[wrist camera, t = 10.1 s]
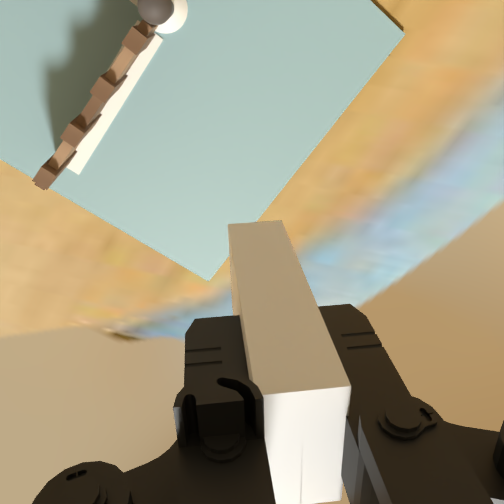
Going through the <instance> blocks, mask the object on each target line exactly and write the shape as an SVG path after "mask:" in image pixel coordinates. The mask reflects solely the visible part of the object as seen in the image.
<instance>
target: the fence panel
mask: <svg viewBox="0 0 504 504" xmlns="http://www.w3.org/2000/svg"><path fill="white" fill-rule="evenodd" d="M157 27H158V25H152V24H149V23H147V22H146V21H145V20H144V19H143V20H141V22H140V24H139V25H136V26H132V27H131V29H130V30H129V32H128V34H127V35H126V37H125V38H124V40H123V41H122V43H121V44H122V45H124V46H125V47H124V48H123V50H122V51H121V53H120V54H119V56H118V57H117V59H116V60H115V62H114V63H113V65H112V66H111V68H110V69H109V71H107V72H106V73H104V74H103V75H101V76H100V77H99V78H98V80H97V81H96V83H95V84H94V86H93V87H92V89H91V91H90V93H91V94H92V95H93V96H92V97H91V99H90V100H89V102H88V103H87V105H86V106H85V108H84V109H83V111H82V112H81V113H80V114H79V115H78V116H77V117H76V118H75V119H74V120H72V121H71V122H70V123H69V124H68V126H67V128H66V129H65V131H64V132H63V134H62V135H61V137H60V138H61V139H62V140H63V141H62V143H61V144H60V146H59V148H58V149H57V151H56V152H55V153H54V154H53V155H52V156H51V157H50V158H49V159H48V160H47V161H46V162H45V163H44V164H43V165H42V166H41V168H40V169H39V171H38V172H37V174H36V175H35V177H34V178H33V180H32V181H34V182H35V185H36V186H38V187H39V188H41V189H43V190H45V189H46V190H47V189H48V188H49V187H50V186H51V185H52V183H53V182H54V181H55V180H56V179H57V177H58V176H59V175H60V174H61V173H62V172H63V170H64V169H65V168H66V167H67V166H68V165H69V163H70V162H71V160H72V159H73V157H74V156H75V154H76V153H77V151H76V148H77V147H78V145H79V144H80V142H81V141H82V140H83V138H84V137H85V136H86V135H87V134H88V133H89V132H90V131H91V130H92V129H93V127H94V126H95V125H96V123H97V122H98V120H99V119H100V117H101V116H102V114H100V112H101V111H102V110H103V108H104V107H105V105H106V104H107V102H108V101H109V99H110V98H111V97H112V96H113V95H114V94H115V93H116V92H117V91H118V90H119V89H120V87H121V86H122V84H123V83H124V81H125V80H126V78H127V77H128V75H126V74H127V72H128V71H129V69H130V68H131V66H132V65H133V63H134V62H135V60H136V59H137V57H138V56H139V54H140V53H141V52H142V51H144V50H145V49H146V48H147V47H148V45H149V44H150V42H151V41H152V39H153V38H154V36H155V34H154V32H155V30H156V29H157Z"/></svg>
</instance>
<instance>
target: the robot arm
mask: <svg viewBox="0 0 504 504" xmlns="http://www.w3.org/2000/svg"><path fill="white" fill-rule="evenodd" d="M228 238H229V256H230V274H231V291H232V308H233V315H234V316H222V317H211V318H199V319H195V320H194V321H193V323H192V324H191V326H190V327H189V329H188V330H187V332H186V334H185V373H184V387H183V389H182V390H181V391H180V392H179V393H178V394H177V397H176V400H175V403H174V406H173V411H174V418H175V424H176V432H177V440H176V441H175V443H174V444H173V445H172V446H171V447H170V449H169V450H167V451H166V452H165V453H164V454H162V455H161V456H160V457H158V458H156V459H154V460H152V461H150V462H149V463H146V464H144V465H142V466H139V467H137V468H134V469H132V470H129V471H127V472H124V473H123V472H122V471H121V470H120V469H119V468H118V467H117V466H115V465H112V464H109V463H105V462H102V461H95V462H83V463H80V464H78V465H75V466H73V467H70V468H67V469H65V470H64V471H62V472H61V473H59V474H58V475H57V476H55V477H54V478H53V479H51V480H50V481H48V483H47V484H46V485H45V486H44V488H43V489H42V490H41V491H40V493H39V494H38V495H37V496H36V498H35V500H34V501H33V503H32V504H313V503H322V502H329V501H339V500H341V497H342V485H343V483H344V486H345V489H346V493H347V496H348V499H349V502H350V504H504V421H503V424H502V427H501V430H500V432H496V431H490V430H483V429H477V428H470V427H464V426H459V425H455V424H451V423H448V422H446V421H443V419H442V418H441V417H440V415H439V414H438V413H437V412H436V411H435V410H434V409H433V407H431V406H429V405H428V404H426V403H425V402H423V401H422V400H420V399H418V398H415V397H412V396H411V395H410V393H409V391H408V390H407V388H406V386H405V384H404V382H403V381H402V379H401V377H400V375H399V373H398V372H397V370H396V368H395V366H394V365H393V363H392V361H391V360H390V358H389V356H388V354H387V353H386V350H385V349H384V347H382V343H381V342H380V340H379V338H378V336H377V335H376V334H375V331H374V329H373V327H372V326H371V324H370V322H369V320H368V319H367V317H366V316H365V315H364V314H363V313H361V312H360V311H359V310H357V309H356V308H355V307H353V306H352V305H351V304H343V305H332V306H320V307H318V306H317V303H316V301H315V299H314V296H313V294H312V291H311V289H310V287H309V284H308V282H307V280H306V277H305V275H304V272H303V270H302V268H301V265H300V263H299V261H298V258H297V256H296V253H295V251H294V249H293V246H292V244H291V241H290V239H289V237H288V234H287V232H286V230H285V227H284V225H283V222H282V220H278V221H264V222H250V223H236V224H228Z"/></svg>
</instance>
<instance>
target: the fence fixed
mask: <svg viewBox="0 0 504 504" xmlns="http://www.w3.org/2000/svg"><path fill="white" fill-rule="evenodd" d="M137 7H138V11H139V14H140V16H141V17H142V18H143V19H144V20H145V21H146V22H147V23H149V24H152V25H161V24H163V23H165V22H166V21H167V20H168V19H169V18H170V17H171V16H172V15H173V13H174V4H173V2H172V1H171V0H138V1H137Z"/></svg>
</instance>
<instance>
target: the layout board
mask: <svg viewBox="0 0 504 504" xmlns="http://www.w3.org/2000/svg"><path fill="white" fill-rule="evenodd" d="M137 1H138V0H0V159H1V160H2V161H4V162H6V163H7V164H9V165H11V166H13V167H14V168H16V169H18V170H19V171H21V172H23V173H24V174H26V175H28V176H30V177H31V178H34V177H35V175H36V174H37V172H38V171H39V169H40V168H41V166H42V165H43V164H44V163H45V162H46V161H47V160H48V159H49V158H50V157H51V156H52V155H53V154H54V153H55V152H56V151H57V149H58V148H59V146H60V144H61V143H62V141H63V140H62V139H61V138H60V137H61V135H62V134H63V132H64V131H65V129H66V128H67V126H68V124H69V123H70V122H71V121H72V120H74V119H75V118H76V117H77V116H78V115H79V114H80V113H81V112H82V111H83V109H84V108H85V106H86V105H87V103H88V102H89V100H90V99H91V97H92V96H93V95H92V94H91V93H90V91H91V89H92V87H93V86H94V84H95V83H96V81H97V80H98V78H99V77H100V76H101V75H103V74H104V73H106V72H107V71H109V69H110V68H111V66H112V65H113V63H114V62H115V60H116V59H117V57H118V56H119V54H120V53H121V51H122V50H123V48H124V47H125V46H124V45H122V44H121V43H122V41H123V40H124V38H125V37H126V35H127V34H128V32H129V30H130V29H131V27H132V26H136V25H139V24H140V22H141V20H143V18H142V17H141V16H140V14H139V11H138V7H137ZM171 1H172V2H173V4H174V13H173V15H172V16H171V17H170V18H169V19H168V20H167V21H166V22H165V23H163V24H161V25H158V27H157V29H156V30H155V32H154V34H155V36H154V38H153V39H152V41H151V42H150V44H149V45H148V47H147V48H146V49H145V50H144V51H142V52H141V53H140V54H139V56H138V57H137V59H136V60H135V62H134V63H133V65H132V66H131V68H130V69H129V71H128V72H127V74H126V75H128V77H127V78H126V80H125V81H124V83H123V84H122V86H121V87H120V89H119V90H118V91H117V92H116V93H115V94H114V95H113V96H112V97H111V98H110V99H109V101H108V102H107V104H106V105H105V107H104V108H103V110H102V111H101V112H100V114H102V116H101V117H100V119H99V120H98V122H97V123H96V125H95V126H94V127H93V129H92V130H91V131H90V132H89V133H88V134H87V135H86V136H85V137H84V138H83V140H82V141H81V142H80V144H79V145H78V147H77V148H76V151H77V153H76V154H75V156H74V157H73V159H72V160H71V162H70V163H69V165H68V166H67V167H66V168H65V169H64V170H63V172H62V173H61V174H60V175H59V176H58V177H57V179H56V180H55V181H54V182H53V183H52V185H51V186H50V187H49V188H50V189H52V190H53V191H55V192H57V193H59V194H60V195H62V196H64V197H65V198H67V199H69V200H71V201H72V202H74V203H76V204H77V205H79V206H81V207H82V208H84V209H86V210H88V211H89V212H91V213H93V214H94V215H96V216H98V217H99V218H101V219H103V220H105V221H106V222H108V223H110V224H111V225H113V226H115V227H117V228H118V229H120V230H122V231H123V232H125V233H127V234H128V235H130V236H132V237H134V238H135V239H137V240H139V241H140V242H142V243H144V244H146V245H147V246H149V247H151V248H152V249H154V250H156V251H157V252H159V253H161V254H163V255H164V256H166V257H168V258H169V259H171V260H173V261H174V262H176V263H178V264H180V265H181V266H183V267H185V268H186V269H188V270H190V271H192V272H193V273H195V274H197V275H198V276H200V277H202V278H203V279H205V280H207V281H209V280H210V279H211V278H212V277H213V275H214V274H215V273H216V272H217V270H218V269H219V268H220V267H221V265H222V264H223V263H224V262H225V260H226V259H227V258H228V257H229V238H228V224H236V223H250V222H256V221H257V220H258V219H259V218H260V216H261V215H262V214H263V213H264V211H265V210H266V209H267V208H268V206H269V205H270V204H271V202H272V201H273V200H274V199H275V197H276V196H277V195H278V194H279V192H280V191H281V190H282V189H283V187H284V186H285V185H286V184H287V182H288V181H289V180H290V179H291V177H292V176H293V175H294V174H295V172H296V171H297V170H298V169H299V167H300V166H301V165H302V164H303V162H304V161H305V160H306V158H307V157H308V156H309V155H310V153H311V152H312V151H313V150H314V148H315V147H316V146H317V145H318V143H319V142H320V141H321V140H322V138H323V137H324V136H325V135H326V133H327V132H328V131H329V130H330V128H331V127H332V126H333V125H334V123H335V122H336V121H337V120H338V118H339V117H340V116H341V114H342V113H343V112H344V111H345V109H346V108H347V107H348V106H349V104H350V103H351V102H352V101H353V99H354V98H355V97H356V96H357V94H358V93H359V92H360V91H361V89H362V88H363V87H364V86H365V84H366V83H367V82H368V81H369V79H370V78H371V77H372V75H373V74H374V73H375V72H376V70H377V69H378V68H379V67H380V65H381V64H382V63H383V62H384V60H385V59H386V58H387V57H388V55H389V54H390V53H391V52H392V50H393V49H394V48H395V47H396V45H397V44H398V43H399V42H400V40H401V39H402V38H403V37H404V35H405V33H404V32H403V31H402V30H400V29H399V28H398V27H397V26H396V25H395V24H394V23H393V22H392V21H391V20H390V19H389V18H388V17H387V16H386V15H385V14H384V13H383V12H382V11H381V10H380V9H379V8H378V7H377V6H376V5H375V4H374V3H373V2H372V1H371V0H171Z"/></svg>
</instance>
